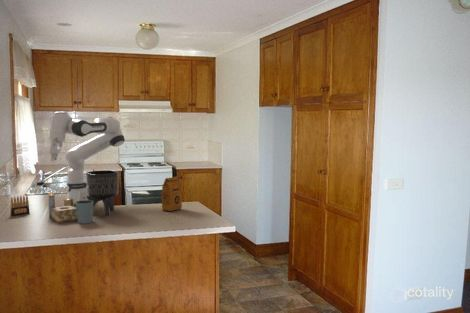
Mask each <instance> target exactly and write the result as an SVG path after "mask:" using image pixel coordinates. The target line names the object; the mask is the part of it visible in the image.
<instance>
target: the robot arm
mask: <svg viewBox="0 0 470 313" xmlns="http://www.w3.org/2000/svg"><path fill="white" fill-rule="evenodd" d="M50 124H51V129H50V131H49V137H48V140H49V141H50V149H49V154H50V156H51V157H50V161H51V162H56V161H57V159H58V154H60V153H61V150H62V146H63V143H65V142H66V134H67V135H72V136H77V137H81V138H83V137H87V136H88V135H90V134H94V133H95V134H98V135H96V136H95V137H93V138H90V139H89V140H86V141H84V142H82V143H81V144H78V145H76V146H74V147H72V148H70V149H69V150H68V151H66V153H65V155H64V156H65V161H66V162H67V171H66V172H67V183H66V191H67V194H66V199H69V198H71V199H73V201H74V205H76V204H75V202H77V201H82V200H88V191H87V182H85V172H84V171H85V160H87V159H89V158H91V157H93V156H95V155H97V154H99V153H101V152H103V151H105V150H106V149H108V148H110V147H111V146H112V147H120V146H122V145H123V144H124V143H125V141H126V140H125V135H123V132H122V129H121V128H120V127H121V123H120V121H119V120H118V119H117V118H114V117H112V116H107V117H105V116H103V117H98V118H95V119H93V122H89V121H87V120H85V119H75V118H73V117H72V116H70V115H69V113H68V112H66V111H55V112H54V113H53V115H52V118H51V123H50Z"/></svg>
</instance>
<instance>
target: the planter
mask: <svg viewBox="0 0 470 313" xmlns="http://www.w3.org/2000/svg"><path fill="white" fill-rule="evenodd" d="M85 175H86V183H87V191H88V200H92V201H93V210H94V208H95V206H96V204H97V203H98V202H100V201H101V202H102V203H103V206H104V214H105V215H104V216H106V217H109V216H110V212H114V211H115V197H117V195H118V194H119V176H120V175H119V171H117V170H111V169H109V170H93V171H87V172H86V174H85Z"/></svg>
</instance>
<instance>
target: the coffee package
mask: <svg viewBox="0 0 470 313" xmlns="http://www.w3.org/2000/svg"><path fill="white" fill-rule="evenodd" d="M182 203H183V202H182V190H181V187H180V185H179V182H178V176H173V177H166V178H165V179H164V182H163V184H162V187H161V210H162V211H166V212H173V211H178V210H182V206H183V205H182Z"/></svg>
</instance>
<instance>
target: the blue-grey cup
mask: <svg viewBox="0 0 470 313" xmlns="http://www.w3.org/2000/svg"><path fill="white" fill-rule="evenodd" d="M74 205H75V208H76V212H77V220H76V221H77V224H89V223H90V224H91V223H92V222H94V209H93V201H92V200H82V201H77V202H75V204H74Z"/></svg>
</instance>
